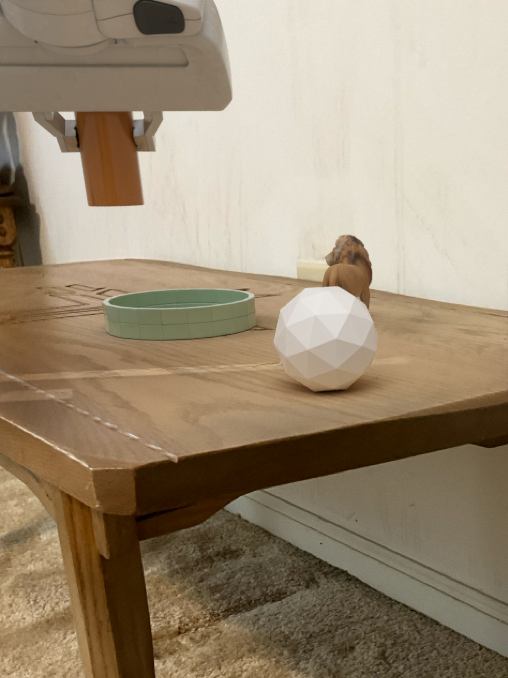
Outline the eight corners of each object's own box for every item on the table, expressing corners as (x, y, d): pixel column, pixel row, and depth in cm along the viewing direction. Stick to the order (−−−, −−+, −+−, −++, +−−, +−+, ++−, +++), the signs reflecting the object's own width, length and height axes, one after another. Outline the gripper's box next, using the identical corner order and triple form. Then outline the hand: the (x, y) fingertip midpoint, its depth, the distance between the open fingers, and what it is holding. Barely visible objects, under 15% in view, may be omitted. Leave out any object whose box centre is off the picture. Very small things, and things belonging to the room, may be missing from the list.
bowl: (96, 349, 81) (90, 311, 80) (119, 323, 95) (114, 290, 93) (257, 342, 83) (254, 306, 82) (256, 318, 97) (254, 286, 96)
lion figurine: (328, 316, 98) (324, 233, 94) (374, 315, 98) (372, 232, 94) (315, 339, 84) (310, 244, 81) (369, 339, 84) (366, 243, 81)
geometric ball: (320, 430, 65) (262, 356, 59) (302, 372, 70) (247, 299, 64) (406, 379, 64) (355, 299, 58) (381, 324, 69) (332, 246, 63)
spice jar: (83, 207, 67) (63, 76, 63) (93, 205, 71) (74, 82, 67) (141, 205, 67) (124, 77, 64) (147, 204, 71) (132, 82, 68)
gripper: (-114, 8, 52) (-31, 178, 65) (224, 12, 55) (240, 174, 68) (-104, -61, 55) (-26, 117, 67) (219, -54, 57) (235, 116, 70)
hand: (110, 146), depth 68 cm, fingers closed on spice jar, 4 cm apart
